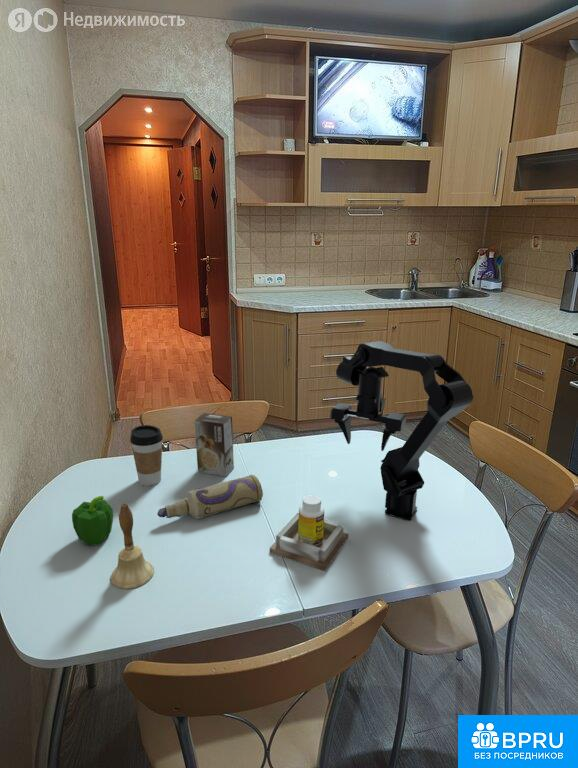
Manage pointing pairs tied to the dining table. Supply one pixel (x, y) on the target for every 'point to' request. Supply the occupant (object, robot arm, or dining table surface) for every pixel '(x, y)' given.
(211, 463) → the coffee box
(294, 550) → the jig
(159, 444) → the coffee cup
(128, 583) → the hand bell
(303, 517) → the supplement bottle
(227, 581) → the dining table surface
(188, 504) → the decorative bottle
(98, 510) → the bell pepper
